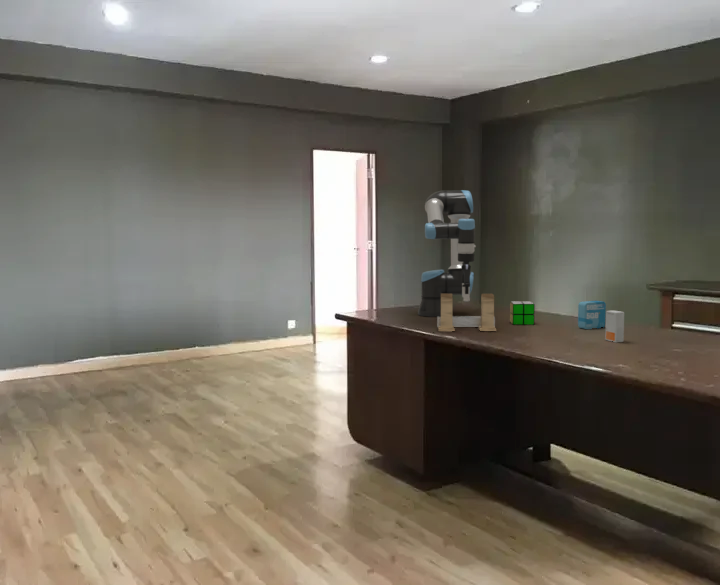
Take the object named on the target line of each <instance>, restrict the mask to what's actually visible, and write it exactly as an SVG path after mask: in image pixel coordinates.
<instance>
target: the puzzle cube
mask: <svg viewBox="0 0 720 585" xmlns="http://www.w3.org/2000/svg"><path fill="white" fill-rule="evenodd" d="M509 303H510V304H509V306H510V307H509V309H510V311H509V322H510V323H511V324H512V325H513V326H516V325H517V326H521V325H522V326H534V325H535V307H536V306H535V304H534V303H533V302H532V301H529V300H528V301H526V300H525V301H517V300H516V301H514V300H513V301H512V300H511V301H510V302H509Z"/></svg>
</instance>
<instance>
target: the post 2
mask: <svg viewBox="0 0 720 585" xmlns="http://www.w3.org/2000/svg"><path fill="white" fill-rule="evenodd" d="M480 304H481V308H480V311H481V312H480V313H481V315H480V316H481V326H479V328H478V330H480V331H496V332H497V328H496V325H495V326H494V317H495V294H493V293H481V301H480ZM480 331H479V332H480Z"/></svg>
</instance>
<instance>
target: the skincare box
mask: <svg viewBox="0 0 720 585" xmlns="http://www.w3.org/2000/svg"><path fill="white" fill-rule="evenodd" d="M624 332H625V312H624V311H620V310H619V311H618V310H613V309H612V310H606V315H605V337H604V340H605V341H609V342H612V341H613V342H612V343H623V342H624V338H625V337H624V334H625V333H624Z"/></svg>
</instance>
